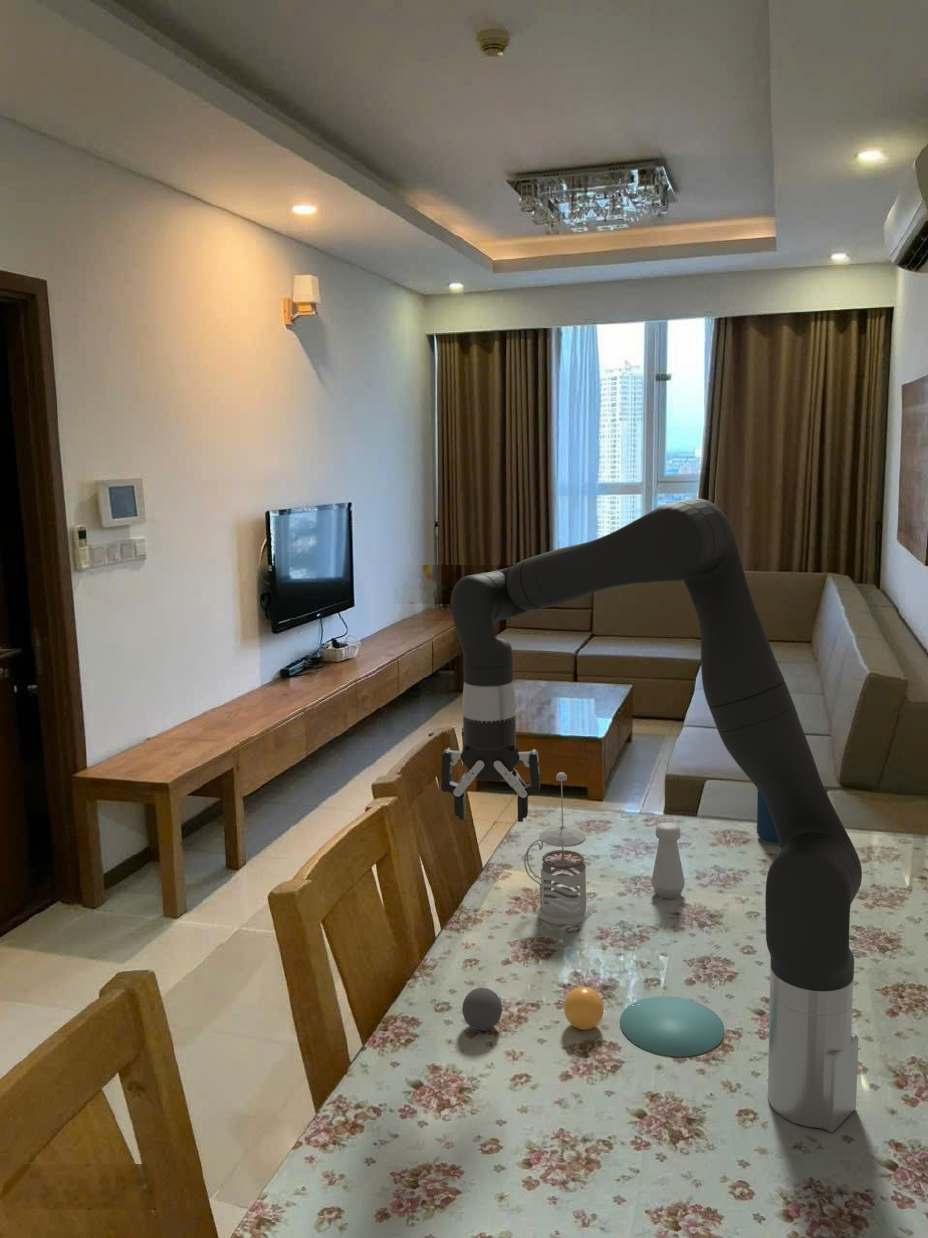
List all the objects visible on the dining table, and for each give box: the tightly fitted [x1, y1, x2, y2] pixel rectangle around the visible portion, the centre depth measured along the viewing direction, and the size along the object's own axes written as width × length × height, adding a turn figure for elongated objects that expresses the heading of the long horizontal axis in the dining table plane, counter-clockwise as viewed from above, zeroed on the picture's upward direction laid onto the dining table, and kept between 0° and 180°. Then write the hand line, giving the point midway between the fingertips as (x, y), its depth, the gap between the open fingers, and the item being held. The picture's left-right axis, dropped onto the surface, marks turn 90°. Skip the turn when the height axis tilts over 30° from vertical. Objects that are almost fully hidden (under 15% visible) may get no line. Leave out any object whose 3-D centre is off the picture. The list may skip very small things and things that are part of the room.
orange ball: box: [563, 986, 605, 1031], centre depth 133 cm, size 6×6×6 cm
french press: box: [523, 771, 593, 925], centre depth 165 cm, size 10×12×25 cm
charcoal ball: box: [461, 987, 503, 1031], centre depth 133 cm, size 6×6×6 cm
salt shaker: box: [651, 822, 686, 900], centre depth 171 cm, size 6×6×13 cm
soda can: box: [756, 789, 780, 846], centre depth 194 cm, size 7×7×12 cm
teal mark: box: [619, 995, 725, 1058], centre depth 133 cm, size 14×14×1 cm
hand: (491, 819), depth 140 cm, fingers open, 8 cm apart
